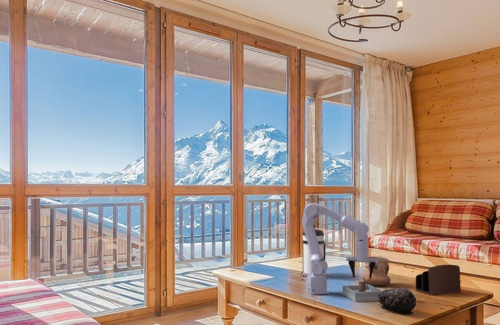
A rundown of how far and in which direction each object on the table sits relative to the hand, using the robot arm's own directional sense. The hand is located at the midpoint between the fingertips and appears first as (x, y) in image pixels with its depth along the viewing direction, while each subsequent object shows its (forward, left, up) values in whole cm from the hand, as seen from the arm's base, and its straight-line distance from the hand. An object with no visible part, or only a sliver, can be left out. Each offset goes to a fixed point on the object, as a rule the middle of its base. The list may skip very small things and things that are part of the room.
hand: (362, 277), depth 200 cm
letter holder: (+43, +3, -10) cm, 44 cm away
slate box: (0, 0, -9) cm, 9 cm away
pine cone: (+4, -23, -9) cm, 25 cm away
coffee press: (-6, +50, -9) cm, 51 cm away
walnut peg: (0, 0, -9) cm, 9 cm away
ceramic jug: (+20, +23, -9) cm, 32 cm away
